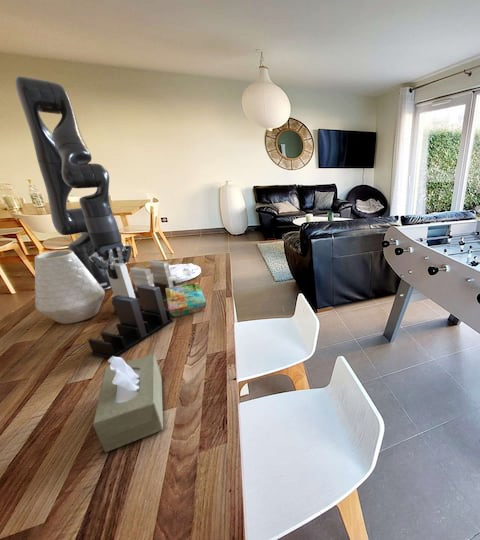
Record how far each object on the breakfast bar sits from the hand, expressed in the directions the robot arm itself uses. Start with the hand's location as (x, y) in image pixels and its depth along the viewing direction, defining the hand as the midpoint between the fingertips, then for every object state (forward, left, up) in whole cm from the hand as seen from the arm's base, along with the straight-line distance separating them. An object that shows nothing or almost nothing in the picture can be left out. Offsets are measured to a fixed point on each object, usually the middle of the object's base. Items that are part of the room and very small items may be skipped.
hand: (118, 277), depth 100 cm
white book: (0, 0, -8) cm, 8 cm away
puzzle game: (+15, +11, -14) cm, 23 cm away
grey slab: (0, +8, -14) cm, 16 cm away
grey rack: (+16, -11, -14) cm, 24 cm away
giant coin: (-9, +31, -14) cm, 35 cm away
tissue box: (+42, -33, -14) cm, 55 cm away
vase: (-14, -7, -14) cm, 21 cm away
